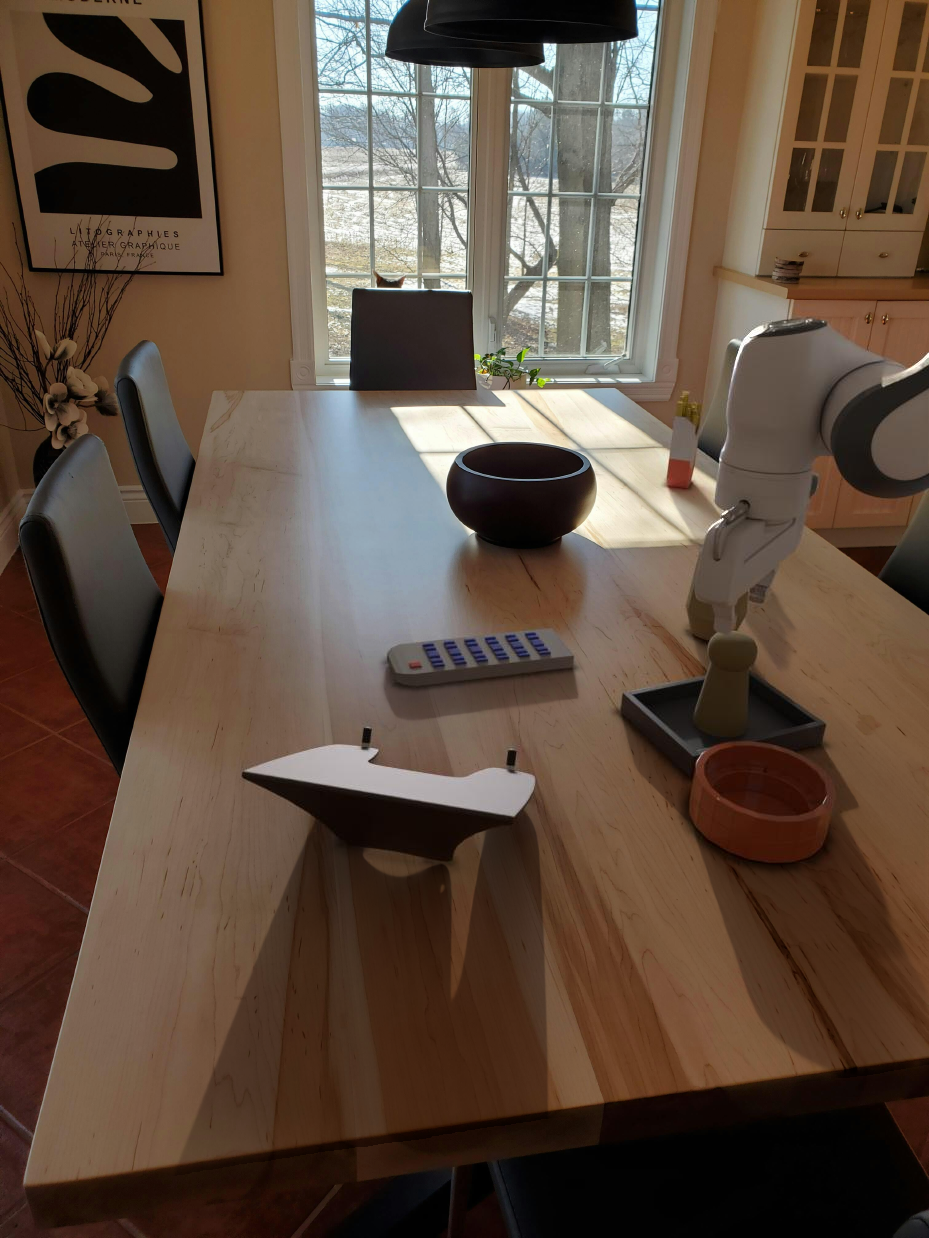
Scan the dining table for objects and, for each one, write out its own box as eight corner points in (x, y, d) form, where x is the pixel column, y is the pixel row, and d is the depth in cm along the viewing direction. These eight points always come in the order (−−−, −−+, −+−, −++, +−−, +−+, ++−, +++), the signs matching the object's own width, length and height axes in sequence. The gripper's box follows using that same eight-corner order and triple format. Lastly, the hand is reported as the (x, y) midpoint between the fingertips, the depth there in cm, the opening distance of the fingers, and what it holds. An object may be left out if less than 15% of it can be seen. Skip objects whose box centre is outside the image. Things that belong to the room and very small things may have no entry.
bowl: (764, 771, 94) (773, 731, 92) (853, 845, 84) (865, 802, 82) (663, 797, 90) (669, 755, 88) (744, 879, 79) (754, 834, 77)
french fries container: (694, 478, 189) (707, 391, 181) (687, 492, 180) (700, 402, 172) (672, 475, 190) (684, 389, 182) (664, 489, 181) (676, 399, 173)
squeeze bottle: (727, 618, 127) (747, 497, 120) (752, 644, 120) (776, 517, 112) (673, 621, 126) (690, 499, 118) (696, 648, 119) (716, 519, 111)
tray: (743, 685, 110) (746, 666, 109) (822, 743, 99) (826, 723, 98) (620, 711, 104) (622, 692, 103) (689, 777, 93) (693, 756, 92)
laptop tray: (537, 843, 92) (548, 753, 92) (504, 908, 69) (519, 790, 69) (325, 806, 96) (336, 721, 96) (229, 857, 74) (243, 746, 74)
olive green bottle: (714, 742, 98) (730, 653, 93) (681, 714, 103) (694, 628, 98) (758, 730, 100) (776, 643, 95) (723, 704, 105) (738, 620, 100)
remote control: (573, 669, 113) (574, 653, 113) (397, 688, 108) (397, 672, 107) (550, 640, 120) (552, 625, 119) (384, 657, 114) (384, 642, 113)
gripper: (753, 524, 80) (731, 660, 86) (825, 472, 95) (802, 592, 101) (687, 510, 84) (671, 642, 90) (767, 462, 98) (748, 578, 104)
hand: (741, 615), depth 95 cm, fingers open, 8 cm apart
